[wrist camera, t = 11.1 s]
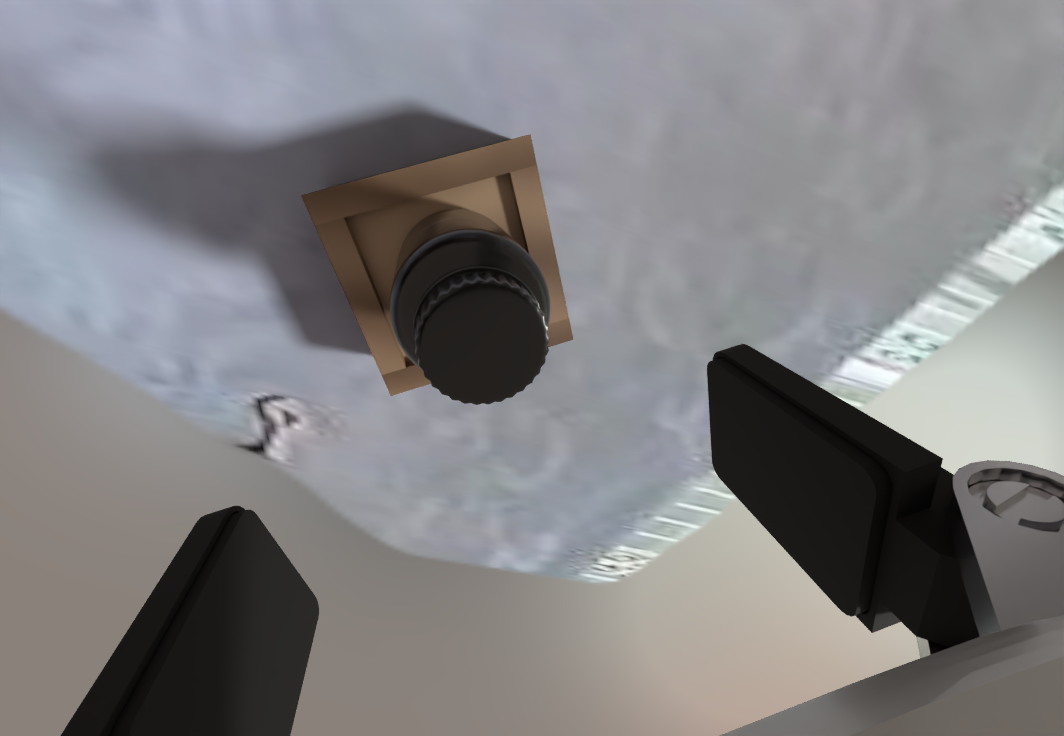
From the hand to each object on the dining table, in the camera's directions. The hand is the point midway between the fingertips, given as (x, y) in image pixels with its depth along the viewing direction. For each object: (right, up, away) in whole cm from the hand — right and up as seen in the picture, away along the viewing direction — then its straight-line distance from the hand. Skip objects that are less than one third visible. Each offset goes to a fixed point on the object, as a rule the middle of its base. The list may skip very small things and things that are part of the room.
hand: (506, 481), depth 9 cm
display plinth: (-5, +10, +21) cm, 24 cm away
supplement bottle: (-4, +8, +17) cm, 19 cm away
